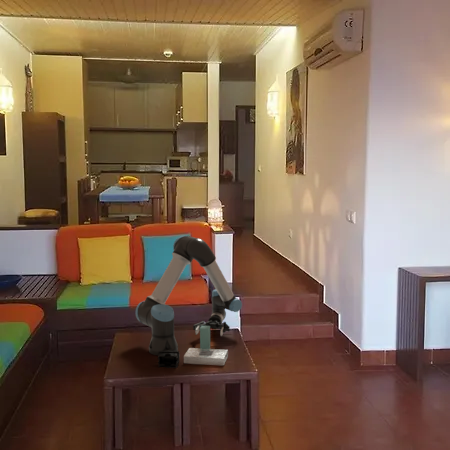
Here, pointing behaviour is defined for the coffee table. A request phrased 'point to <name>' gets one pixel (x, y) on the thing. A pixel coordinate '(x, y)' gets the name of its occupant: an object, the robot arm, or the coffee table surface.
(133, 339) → the coffee table surface
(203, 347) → the teal post
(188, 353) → the grey rectangular frame
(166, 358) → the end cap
